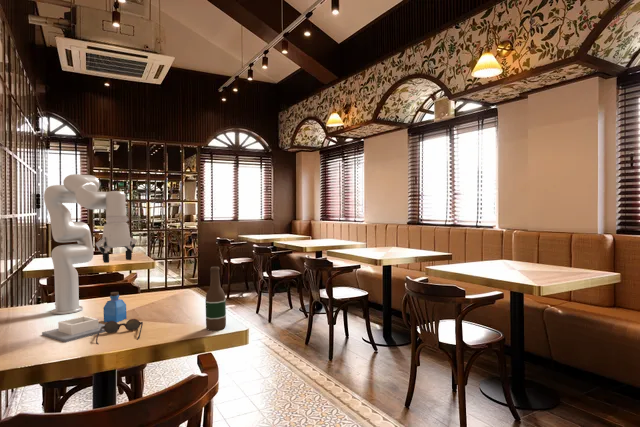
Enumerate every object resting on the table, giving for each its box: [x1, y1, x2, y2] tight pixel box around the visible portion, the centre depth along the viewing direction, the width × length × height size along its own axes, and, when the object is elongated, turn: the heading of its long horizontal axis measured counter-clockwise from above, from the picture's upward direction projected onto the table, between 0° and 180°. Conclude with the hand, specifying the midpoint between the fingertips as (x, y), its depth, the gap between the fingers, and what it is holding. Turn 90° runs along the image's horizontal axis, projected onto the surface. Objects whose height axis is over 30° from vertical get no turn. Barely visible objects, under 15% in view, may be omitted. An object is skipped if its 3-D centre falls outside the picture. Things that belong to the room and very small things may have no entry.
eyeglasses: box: [95, 318, 144, 345], centre depth 150 cm, size 15×15×5 cm
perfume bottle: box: [102, 291, 128, 323], centre depth 174 cm, size 6×6×12 cm
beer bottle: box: [205, 266, 227, 332], centre depth 158 cm, size 8×8×24 cm
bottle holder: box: [41, 315, 107, 343], centre depth 157 cm, size 18×18×4 cm
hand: (117, 261), depth 170 cm, fingers open, 9 cm apart
